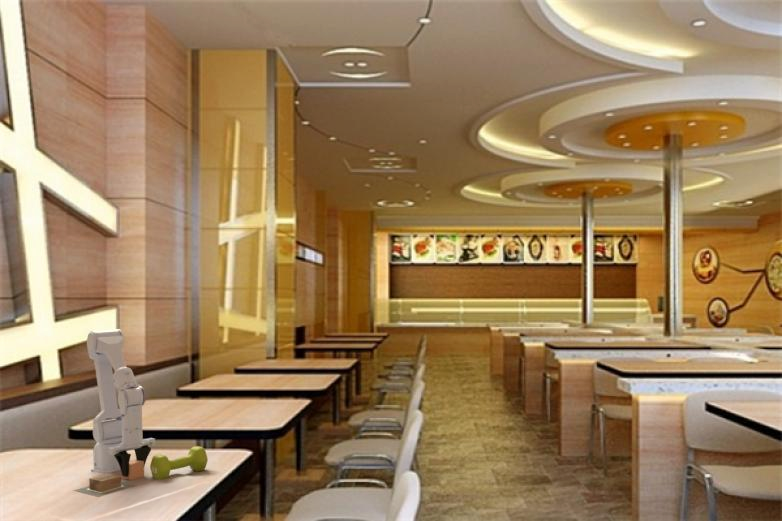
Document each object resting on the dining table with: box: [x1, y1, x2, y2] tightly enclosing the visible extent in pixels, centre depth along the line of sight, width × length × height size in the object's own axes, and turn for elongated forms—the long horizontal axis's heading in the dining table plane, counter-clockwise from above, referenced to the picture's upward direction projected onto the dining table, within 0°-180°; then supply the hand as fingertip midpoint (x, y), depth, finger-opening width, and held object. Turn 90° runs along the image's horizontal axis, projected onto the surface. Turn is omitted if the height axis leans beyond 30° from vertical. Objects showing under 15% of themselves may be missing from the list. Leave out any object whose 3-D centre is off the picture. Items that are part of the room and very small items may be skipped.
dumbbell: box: [149, 445, 209, 480], centre depth 207 cm, size 16×8×7 cm, turn 136°
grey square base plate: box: [73, 481, 138, 498], centre depth 192 cm, size 12×12×1 cm
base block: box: [88, 472, 122, 492], centre depth 193 cm, size 6×6×3 cm
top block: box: [121, 458, 145, 480], centre depth 203 cm, size 4×4×5 cm
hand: (132, 474), depth 203 cm, fingers closed on top block, 4 cm apart
